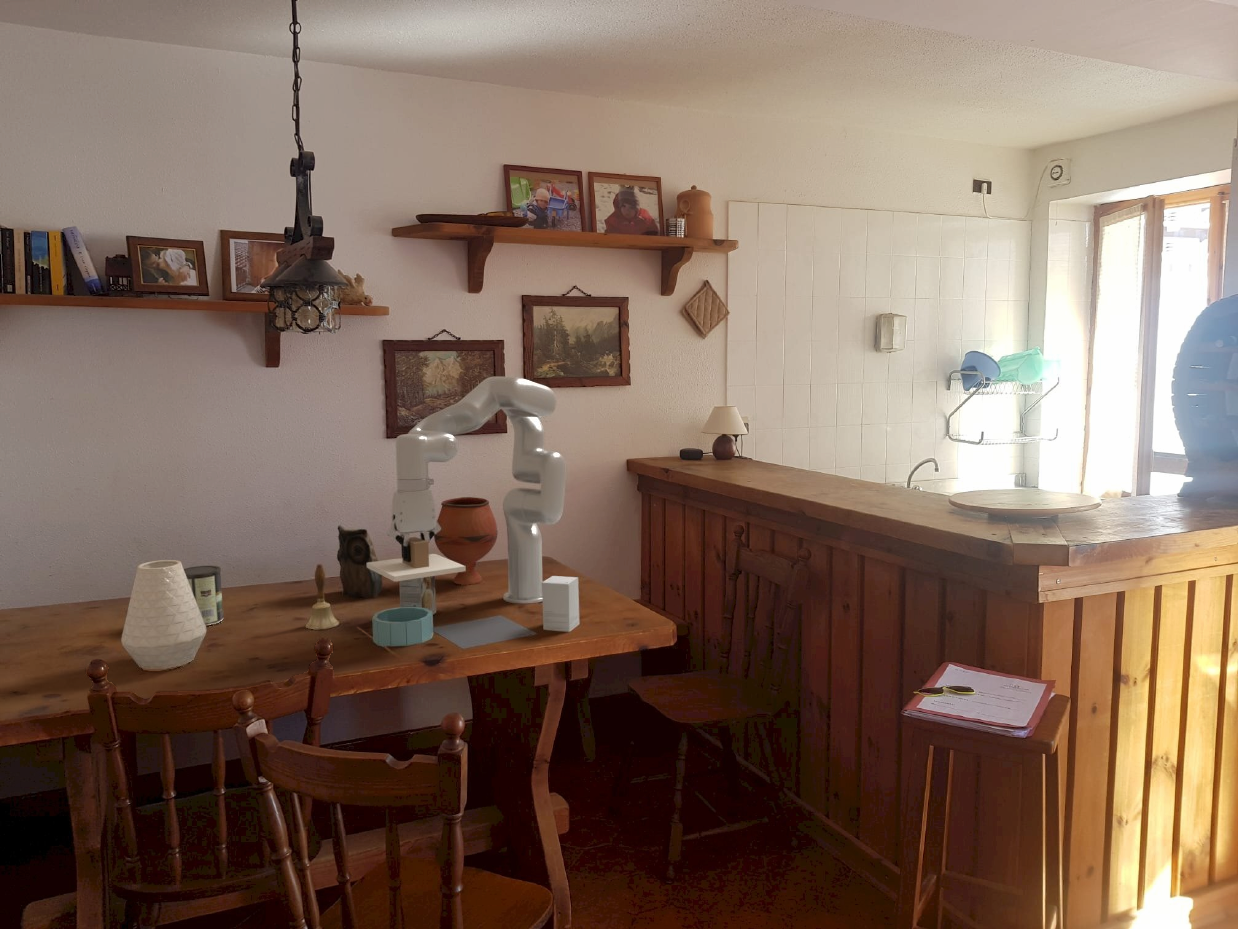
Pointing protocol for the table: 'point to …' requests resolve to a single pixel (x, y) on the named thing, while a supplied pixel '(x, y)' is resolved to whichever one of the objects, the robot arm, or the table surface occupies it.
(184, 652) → the vase
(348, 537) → the owl
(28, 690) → the table surface
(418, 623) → the bowl
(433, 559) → the lid
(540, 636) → the table surface
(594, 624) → the table surface
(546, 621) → the supplement box
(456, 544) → the goblet
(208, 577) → the coffee can
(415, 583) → the coffee box
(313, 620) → the hand bell
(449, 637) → the mat
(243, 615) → the table surface
